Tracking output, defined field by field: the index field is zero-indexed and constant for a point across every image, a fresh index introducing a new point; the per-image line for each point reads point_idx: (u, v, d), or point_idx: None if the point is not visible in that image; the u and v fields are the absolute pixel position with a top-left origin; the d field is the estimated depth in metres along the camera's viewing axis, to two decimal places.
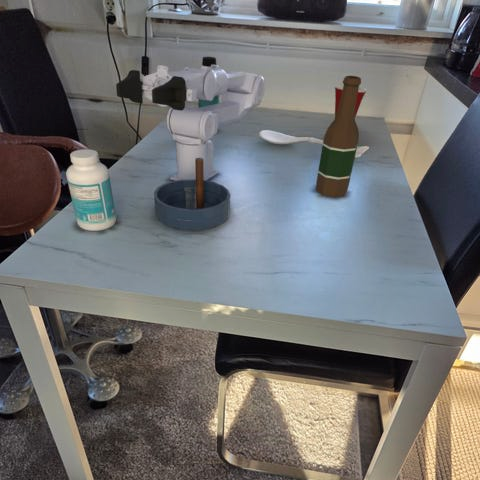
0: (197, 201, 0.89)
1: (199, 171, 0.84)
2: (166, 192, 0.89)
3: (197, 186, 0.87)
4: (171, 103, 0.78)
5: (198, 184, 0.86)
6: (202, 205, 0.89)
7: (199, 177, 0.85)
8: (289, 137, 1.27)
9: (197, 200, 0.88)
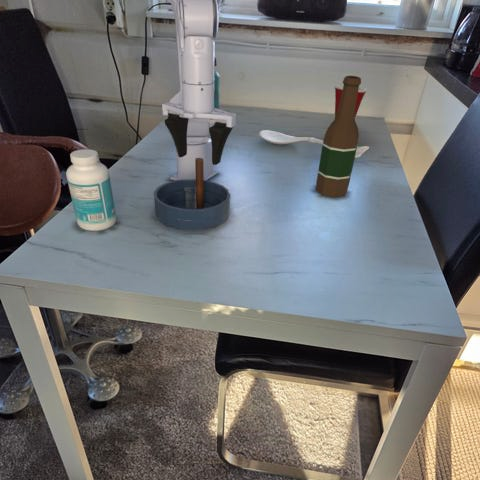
0: (197, 201, 0.89)
1: (199, 171, 0.84)
2: (166, 192, 0.89)
3: (197, 186, 0.87)
4: (225, 141, 0.81)
5: (198, 184, 0.86)
6: (202, 205, 0.89)
7: (199, 177, 0.85)
8: (289, 137, 1.27)
9: (197, 200, 0.88)
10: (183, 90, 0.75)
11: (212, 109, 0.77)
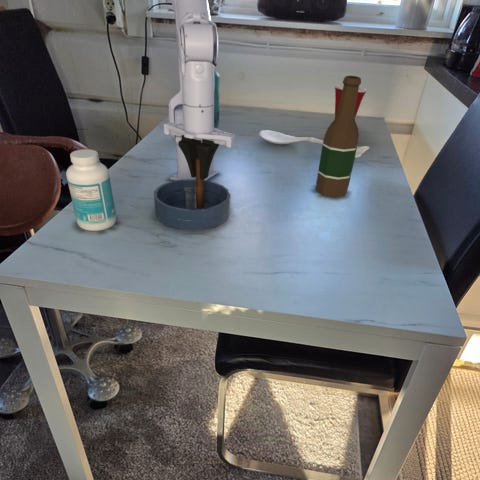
0: (197, 201, 0.89)
1: (199, 171, 0.84)
2: (166, 192, 0.89)
3: (197, 186, 0.87)
4: (212, 157, 0.84)
5: (198, 184, 0.86)
6: (202, 205, 0.89)
7: (199, 177, 0.85)
8: (289, 137, 1.27)
9: (197, 200, 0.88)
10: (184, 112, 0.77)
11: (212, 129, 0.79)
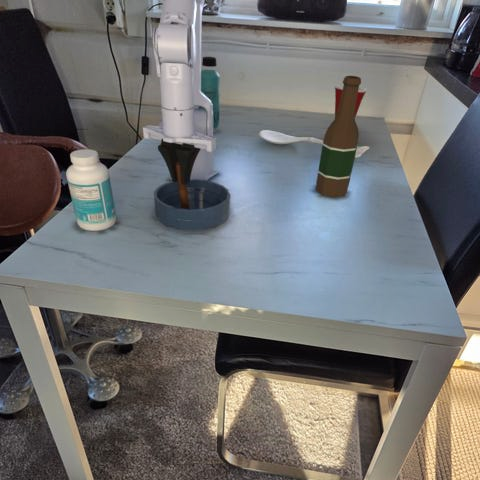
0: (182, 204, 0.87)
1: (180, 176, 0.82)
2: (166, 192, 0.89)
3: (180, 190, 0.85)
4: (193, 161, 0.81)
5: (181, 188, 0.84)
6: (187, 208, 0.88)
7: None
8: (289, 137, 1.27)
9: (182, 203, 0.87)
10: (162, 115, 0.75)
11: (192, 133, 0.77)
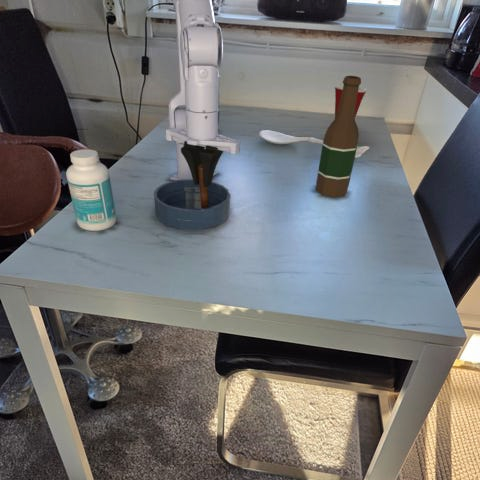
0: (202, 207, 0.87)
1: (202, 178, 0.82)
2: (166, 192, 0.89)
3: (201, 193, 0.84)
4: (216, 163, 0.81)
5: (202, 191, 0.84)
6: None
7: None
8: (289, 137, 1.27)
9: (202, 206, 0.86)
10: (187, 117, 0.74)
11: (216, 136, 0.77)
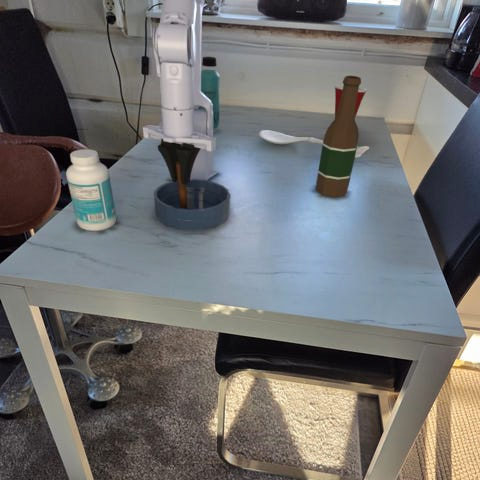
0: (181, 204, 0.87)
1: None
2: (166, 192, 0.89)
3: (179, 190, 0.85)
4: (193, 161, 0.81)
5: (180, 188, 0.84)
6: (186, 208, 0.88)
7: None
8: (289, 137, 1.27)
9: (181, 203, 0.87)
10: (162, 115, 0.75)
11: (192, 133, 0.77)
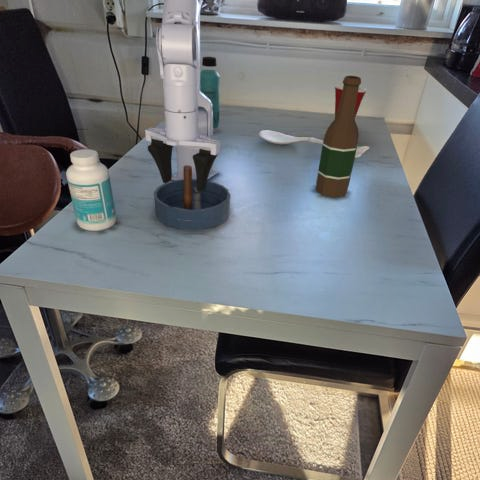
0: None
1: (187, 179, 0.81)
2: (166, 192, 0.89)
3: (185, 194, 0.83)
4: (210, 167, 0.78)
5: (186, 192, 0.83)
6: None
7: (187, 185, 0.82)
8: (289, 137, 1.27)
9: None
10: (166, 117, 0.73)
11: (196, 136, 0.75)
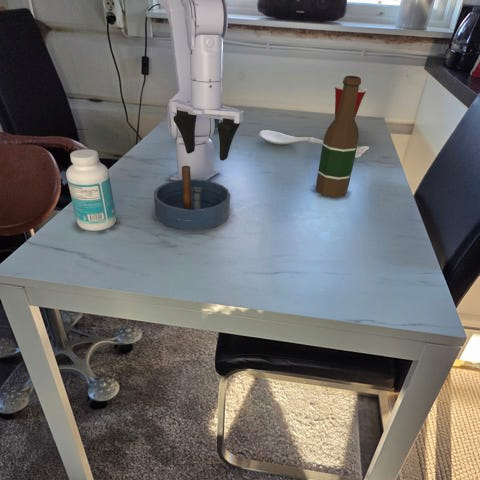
0: None
1: (186, 179, 0.81)
2: (166, 192, 0.89)
3: (184, 195, 0.83)
4: (232, 137, 0.83)
5: (185, 193, 0.83)
6: None
7: (186, 186, 0.82)
8: (289, 137, 1.27)
9: None
10: (192, 87, 0.77)
11: (220, 106, 0.79)
